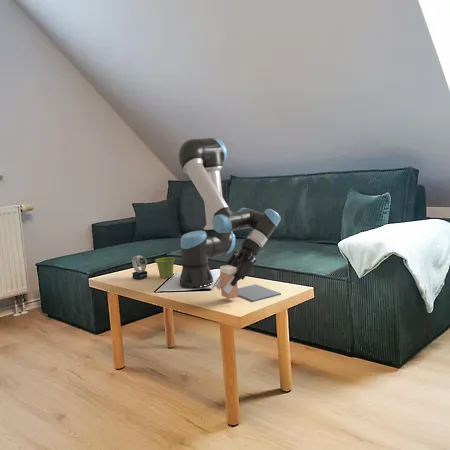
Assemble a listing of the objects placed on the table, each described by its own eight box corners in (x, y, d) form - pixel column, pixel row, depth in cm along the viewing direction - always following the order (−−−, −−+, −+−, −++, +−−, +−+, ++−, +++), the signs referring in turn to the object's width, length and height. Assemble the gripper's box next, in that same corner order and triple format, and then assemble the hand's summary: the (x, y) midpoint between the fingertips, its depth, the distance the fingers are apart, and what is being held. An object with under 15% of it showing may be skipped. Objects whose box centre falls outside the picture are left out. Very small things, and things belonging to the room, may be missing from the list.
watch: (141, 280, 238) (139, 258, 237) (130, 278, 244) (128, 256, 242) (150, 277, 242) (148, 255, 241) (139, 275, 248) (137, 254, 246)
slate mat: (228, 291, 211) (228, 290, 211) (255, 285, 218) (255, 284, 218) (252, 301, 196) (252, 300, 196) (281, 294, 203) (281, 293, 203)
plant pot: (152, 277, 243) (151, 260, 241) (168, 273, 249) (166, 256, 248) (164, 280, 236) (163, 262, 235) (180, 276, 243) (178, 258, 241)
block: (221, 295, 201) (219, 266, 199) (229, 293, 203) (228, 264, 201) (229, 299, 196) (227, 269, 194) (237, 296, 198) (236, 267, 196)
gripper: (273, 252, 197) (240, 300, 191) (246, 244, 213) (215, 289, 207) (262, 240, 193) (228, 290, 188) (235, 234, 209) (203, 279, 204)
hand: (221, 289), depth 197 cm, fingers closed on block, 6 cm apart
